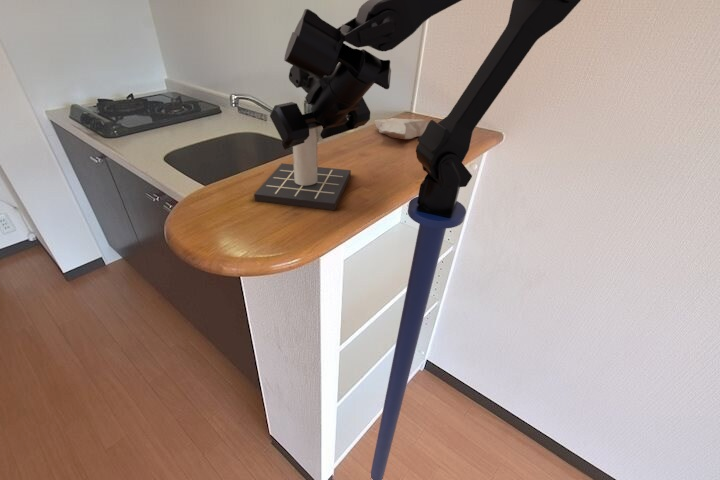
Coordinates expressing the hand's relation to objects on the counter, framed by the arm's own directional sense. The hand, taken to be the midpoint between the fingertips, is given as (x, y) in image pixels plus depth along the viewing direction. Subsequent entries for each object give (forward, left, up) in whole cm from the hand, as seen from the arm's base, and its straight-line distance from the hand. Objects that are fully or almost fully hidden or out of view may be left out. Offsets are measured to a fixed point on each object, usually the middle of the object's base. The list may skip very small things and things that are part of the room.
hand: (303, 141), depth 68 cm
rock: (-6, -42, -10) cm, 43 cm away
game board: (0, 0, -9) cm, 9 cm away
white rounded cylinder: (0, 0, -8) cm, 8 cm away
